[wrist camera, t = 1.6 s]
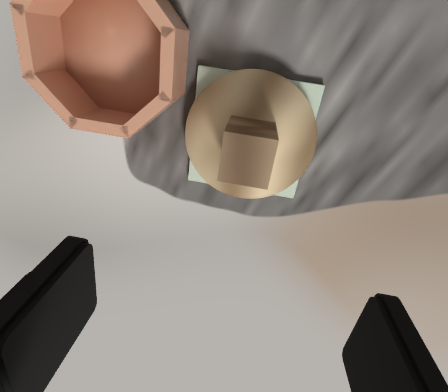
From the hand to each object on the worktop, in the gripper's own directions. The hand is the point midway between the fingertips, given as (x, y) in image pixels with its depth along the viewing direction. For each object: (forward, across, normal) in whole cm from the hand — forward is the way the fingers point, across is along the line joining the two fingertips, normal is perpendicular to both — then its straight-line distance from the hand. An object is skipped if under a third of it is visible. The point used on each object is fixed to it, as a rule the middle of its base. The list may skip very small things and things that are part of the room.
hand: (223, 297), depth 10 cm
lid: (+20, 0, 0) cm, 20 cm away
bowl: (+21, +12, -5) cm, 25 cm away
